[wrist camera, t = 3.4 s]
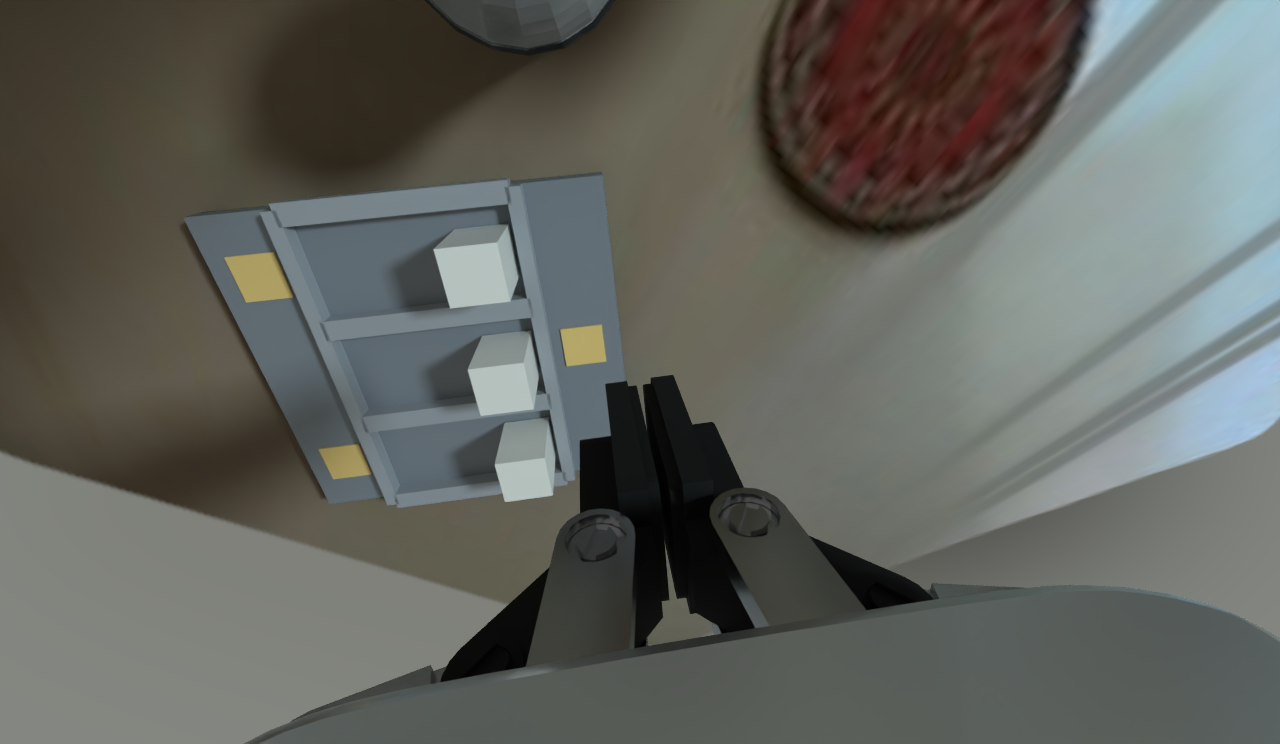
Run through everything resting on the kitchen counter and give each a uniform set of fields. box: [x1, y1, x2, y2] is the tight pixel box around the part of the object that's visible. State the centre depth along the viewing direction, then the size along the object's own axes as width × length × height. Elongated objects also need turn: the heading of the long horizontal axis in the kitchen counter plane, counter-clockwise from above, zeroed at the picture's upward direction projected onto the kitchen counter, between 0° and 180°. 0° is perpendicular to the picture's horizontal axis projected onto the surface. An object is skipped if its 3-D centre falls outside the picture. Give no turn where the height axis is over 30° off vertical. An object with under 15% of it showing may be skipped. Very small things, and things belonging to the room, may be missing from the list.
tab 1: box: [433, 223, 520, 309], centre depth 26 cm, size 3×3×4 cm
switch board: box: [184, 172, 625, 508], centre depth 31 cm, size 22×21×2 cm
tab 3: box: [495, 417, 556, 502], centre depth 32 cm, size 3×3×4 cm
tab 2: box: [468, 330, 539, 416], centre depth 29 cm, size 3×3×4 cm
